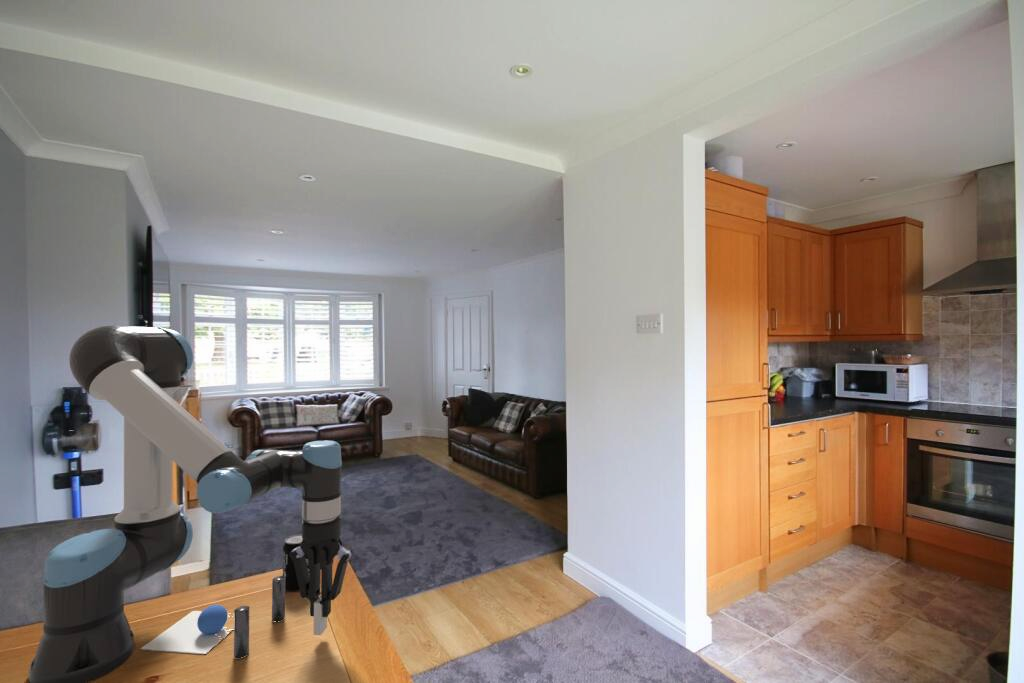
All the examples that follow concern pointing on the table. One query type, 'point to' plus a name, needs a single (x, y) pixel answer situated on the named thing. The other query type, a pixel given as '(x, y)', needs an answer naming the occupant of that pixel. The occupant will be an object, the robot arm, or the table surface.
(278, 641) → the table surface
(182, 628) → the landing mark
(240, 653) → the post
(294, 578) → the beverage can
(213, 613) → the ball
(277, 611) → the post
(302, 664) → the table surface
